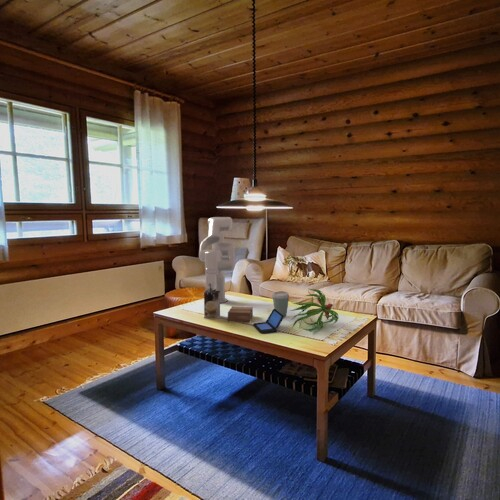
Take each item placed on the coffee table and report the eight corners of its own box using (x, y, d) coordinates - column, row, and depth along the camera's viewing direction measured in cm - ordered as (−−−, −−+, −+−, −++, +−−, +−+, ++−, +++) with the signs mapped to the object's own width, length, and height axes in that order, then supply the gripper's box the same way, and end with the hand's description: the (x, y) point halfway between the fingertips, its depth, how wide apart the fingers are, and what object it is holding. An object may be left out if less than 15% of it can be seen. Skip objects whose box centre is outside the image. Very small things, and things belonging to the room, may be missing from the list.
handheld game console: (252, 325, 211) (252, 310, 209) (273, 323, 215) (274, 307, 213) (261, 334, 196) (261, 318, 195) (284, 332, 200) (284, 315, 199)
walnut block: (232, 315, 229) (232, 306, 229) (252, 316, 227) (252, 307, 227) (227, 322, 217) (227, 312, 216) (249, 323, 215) (249, 313, 214)
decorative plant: (340, 331, 215) (325, 347, 189) (300, 316, 226) (281, 330, 200) (350, 289, 210) (337, 300, 184) (310, 277, 221) (291, 285, 195)
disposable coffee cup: (287, 320, 219) (287, 295, 217) (269, 318, 223) (269, 294, 221) (290, 314, 229) (291, 291, 227) (274, 313, 233) (274, 290, 231)
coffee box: (203, 318, 224) (203, 292, 222) (206, 315, 230) (205, 290, 228) (218, 318, 223) (218, 292, 221) (220, 315, 229) (220, 290, 227)
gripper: (208, 269, 231) (208, 295, 233) (202, 273, 214) (202, 302, 216) (220, 269, 231) (220, 295, 232) (214, 273, 214) (215, 302, 215)
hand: (211, 298), depth 224 cm, fingers open, 9 cm apart
